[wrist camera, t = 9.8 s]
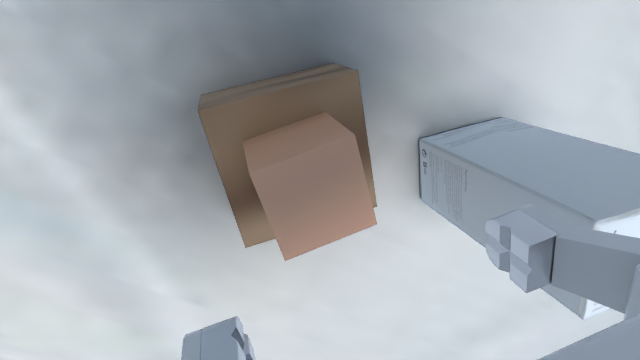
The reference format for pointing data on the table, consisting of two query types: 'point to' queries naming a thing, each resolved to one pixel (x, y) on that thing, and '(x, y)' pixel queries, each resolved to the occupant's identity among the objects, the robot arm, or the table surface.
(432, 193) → the skincare box
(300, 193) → the terracotta cube
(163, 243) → the table surface
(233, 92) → the walnut block
